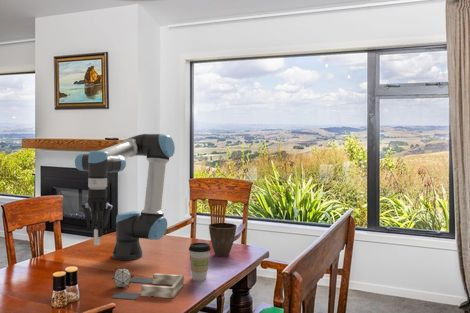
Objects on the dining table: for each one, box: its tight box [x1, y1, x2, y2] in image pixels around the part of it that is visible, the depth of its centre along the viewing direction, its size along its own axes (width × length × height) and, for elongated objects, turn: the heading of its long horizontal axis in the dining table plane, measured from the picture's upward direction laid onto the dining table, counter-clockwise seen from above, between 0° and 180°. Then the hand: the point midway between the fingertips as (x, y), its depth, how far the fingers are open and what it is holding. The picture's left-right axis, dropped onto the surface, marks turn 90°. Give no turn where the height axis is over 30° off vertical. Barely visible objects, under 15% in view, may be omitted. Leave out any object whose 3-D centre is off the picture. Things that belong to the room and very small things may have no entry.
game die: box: [111, 266, 134, 290], centre depth 174 cm, size 9×8×10 cm
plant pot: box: [208, 222, 238, 258], centre depth 225 cm, size 15×15×16 cm
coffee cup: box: [188, 242, 212, 281], centre depth 187 cm, size 10×10×15 cm
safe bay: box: [140, 272, 185, 299], centre depth 171 cm, size 13×15×4 cm
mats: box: [110, 276, 153, 301], centre depth 173 cm, size 10×24×1 cm, turn 173°
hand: (97, 244), depth 174 cm, fingers closed
